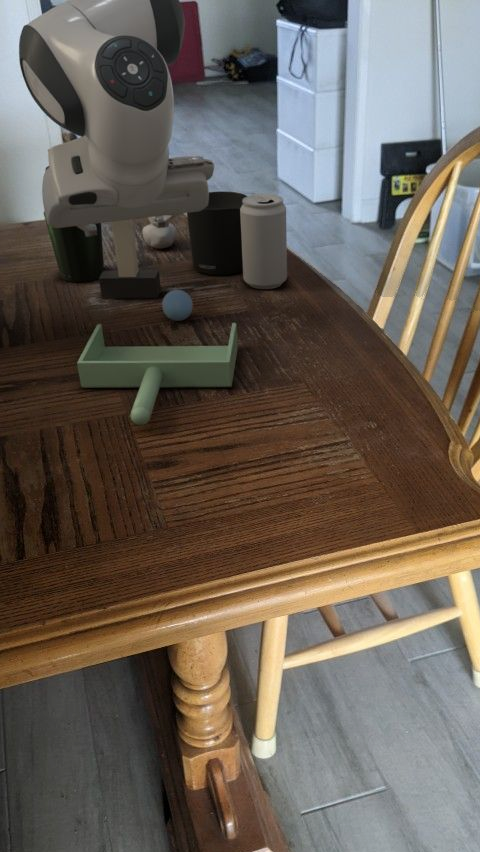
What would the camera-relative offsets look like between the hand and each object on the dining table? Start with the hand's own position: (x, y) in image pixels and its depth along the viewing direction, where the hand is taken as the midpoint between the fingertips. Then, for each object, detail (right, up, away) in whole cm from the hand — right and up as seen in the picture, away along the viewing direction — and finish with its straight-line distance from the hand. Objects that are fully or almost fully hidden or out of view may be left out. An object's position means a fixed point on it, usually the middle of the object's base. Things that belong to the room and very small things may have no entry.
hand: (126, 226), depth 103 cm
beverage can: (+18, -5, +12) cm, 22 cm away
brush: (-1, -7, +9) cm, 11 cm away
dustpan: (+6, -23, -14) cm, 28 cm away
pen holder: (+11, -1, +18) cm, 21 cm away
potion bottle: (-10, -2, +16) cm, 19 cm away
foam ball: (+7, -12, +1) cm, 14 cm away
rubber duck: (+1, +5, +26) cm, 27 cm away
